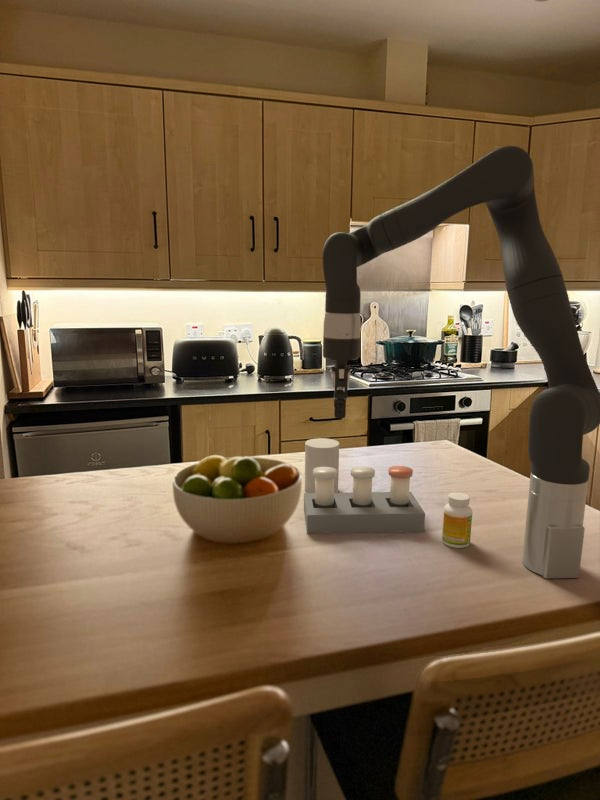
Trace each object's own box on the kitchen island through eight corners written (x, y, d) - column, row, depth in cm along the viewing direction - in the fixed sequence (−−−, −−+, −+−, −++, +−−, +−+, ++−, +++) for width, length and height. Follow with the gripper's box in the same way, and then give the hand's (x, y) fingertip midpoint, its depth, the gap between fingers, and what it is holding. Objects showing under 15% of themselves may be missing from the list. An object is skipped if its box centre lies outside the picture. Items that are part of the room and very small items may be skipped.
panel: (424, 531, 117) (425, 513, 117) (307, 533, 116) (307, 515, 115) (410, 508, 129) (411, 491, 128) (303, 510, 128) (303, 493, 127)
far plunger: (337, 506, 119) (338, 474, 118) (313, 506, 119) (313, 474, 117) (334, 497, 124) (335, 466, 123) (311, 497, 124) (312, 466, 122)
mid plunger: (375, 505, 120) (376, 474, 118) (351, 506, 119) (352, 474, 118) (371, 496, 124) (372, 466, 123) (348, 497, 124) (349, 466, 123)
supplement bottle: (471, 550, 110) (474, 502, 108) (442, 547, 111) (445, 500, 109) (468, 537, 115) (472, 492, 113) (441, 535, 116) (444, 489, 114)
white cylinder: (338, 485, 144) (339, 438, 141) (337, 497, 136) (338, 448, 133) (306, 483, 144) (306, 437, 142) (303, 495, 136) (303, 447, 134)
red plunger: (413, 505, 120) (415, 473, 118) (390, 505, 120) (391, 473, 118) (408, 496, 125) (409, 465, 123) (385, 496, 125) (386, 465, 123)
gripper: (362, 339, 109) (359, 421, 113) (358, 331, 123) (355, 405, 127) (323, 338, 110) (321, 420, 113) (323, 331, 124) (321, 404, 127)
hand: (339, 412), depth 120 cm, fingers open, 8 cm apart
